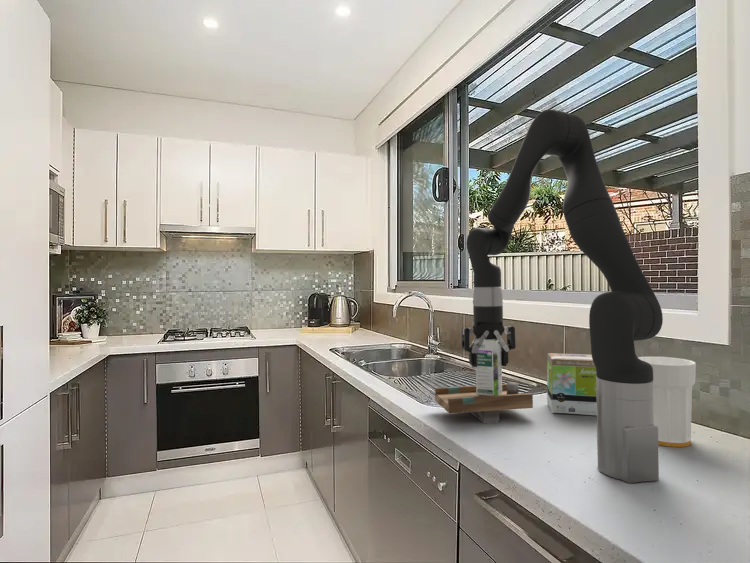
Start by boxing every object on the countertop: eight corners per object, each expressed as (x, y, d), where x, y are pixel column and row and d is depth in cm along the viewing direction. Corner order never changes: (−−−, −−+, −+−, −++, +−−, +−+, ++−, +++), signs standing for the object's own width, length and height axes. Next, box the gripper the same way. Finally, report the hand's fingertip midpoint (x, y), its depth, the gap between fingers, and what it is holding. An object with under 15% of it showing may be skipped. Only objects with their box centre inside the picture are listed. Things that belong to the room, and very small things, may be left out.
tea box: (551, 414, 120) (551, 358, 120) (546, 404, 130) (546, 352, 129) (614, 417, 116) (613, 359, 116) (604, 406, 126) (603, 353, 126)
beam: (533, 419, 115) (532, 388, 115) (449, 425, 112) (449, 393, 112) (511, 406, 127) (510, 378, 127) (435, 411, 124) (434, 382, 124)
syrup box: (475, 395, 118) (474, 339, 118) (481, 390, 124) (480, 336, 124) (497, 397, 116) (496, 340, 116) (502, 392, 121) (501, 337, 121)
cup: (627, 439, 101) (626, 360, 101) (647, 427, 108) (646, 354, 108) (687, 453, 92) (686, 367, 92) (704, 440, 99) (703, 360, 99)
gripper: (467, 305, 115) (468, 370, 115) (520, 304, 117) (521, 367, 117) (457, 304, 122) (458, 365, 122) (507, 303, 125) (508, 362, 125)
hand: (488, 366), depth 120 cm, fingers closed on syrup box, 7 cm apart
